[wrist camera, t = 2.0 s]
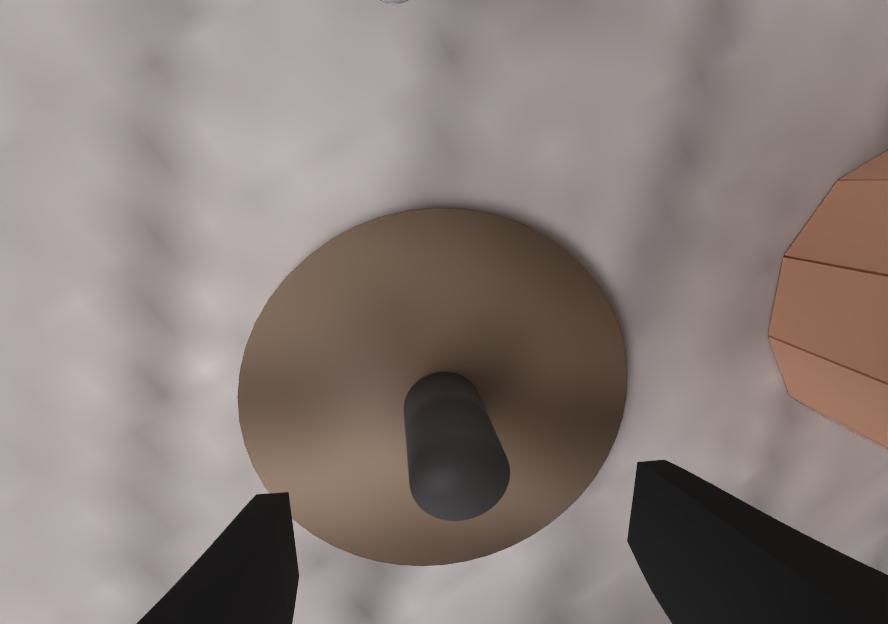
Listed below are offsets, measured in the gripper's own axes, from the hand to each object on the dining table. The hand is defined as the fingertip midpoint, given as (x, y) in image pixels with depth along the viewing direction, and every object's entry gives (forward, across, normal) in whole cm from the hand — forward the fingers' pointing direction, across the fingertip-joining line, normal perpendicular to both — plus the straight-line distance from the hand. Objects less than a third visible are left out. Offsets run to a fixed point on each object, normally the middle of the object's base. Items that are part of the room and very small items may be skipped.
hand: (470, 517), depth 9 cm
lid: (+6, 0, 0) cm, 6 cm away
